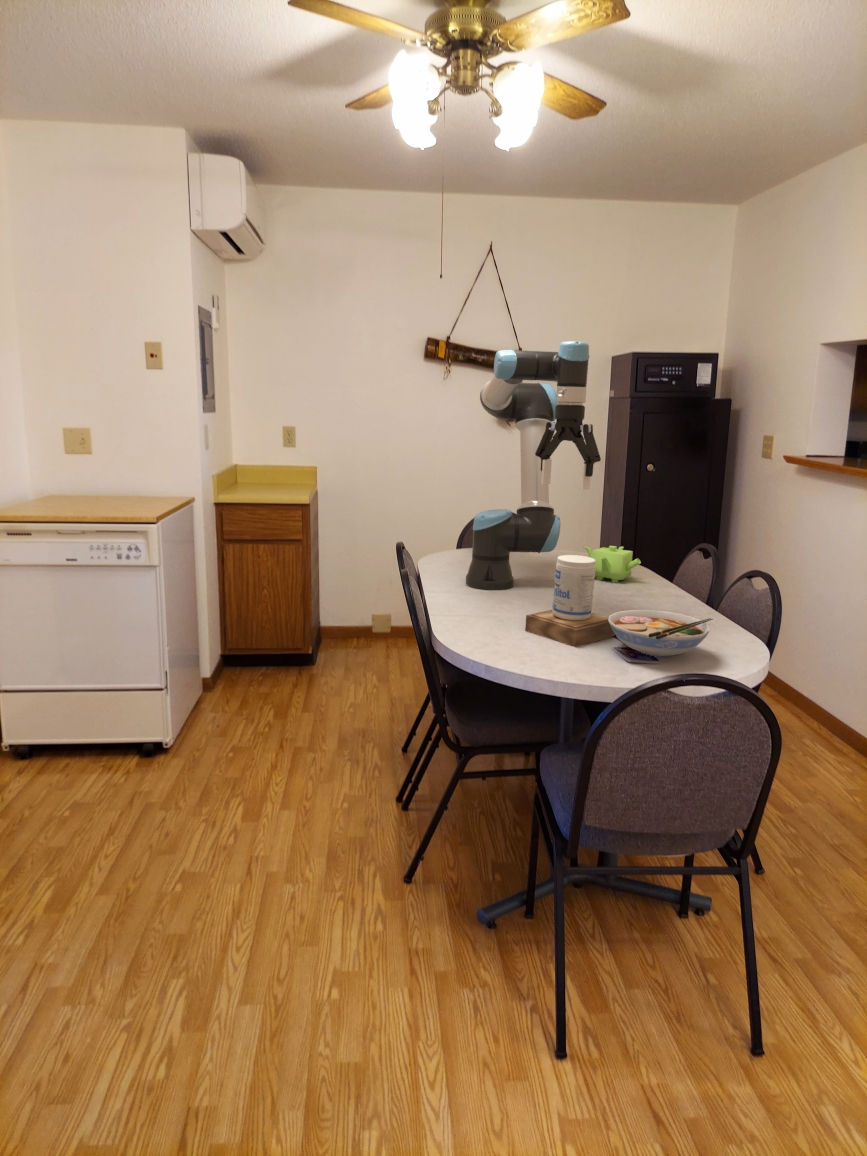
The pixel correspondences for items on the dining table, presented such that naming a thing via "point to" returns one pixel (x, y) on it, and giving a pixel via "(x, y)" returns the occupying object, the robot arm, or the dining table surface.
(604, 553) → the kettle
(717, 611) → the dining table surface
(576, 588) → the supplement tub
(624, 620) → the ramen bowl
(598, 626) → the stand
